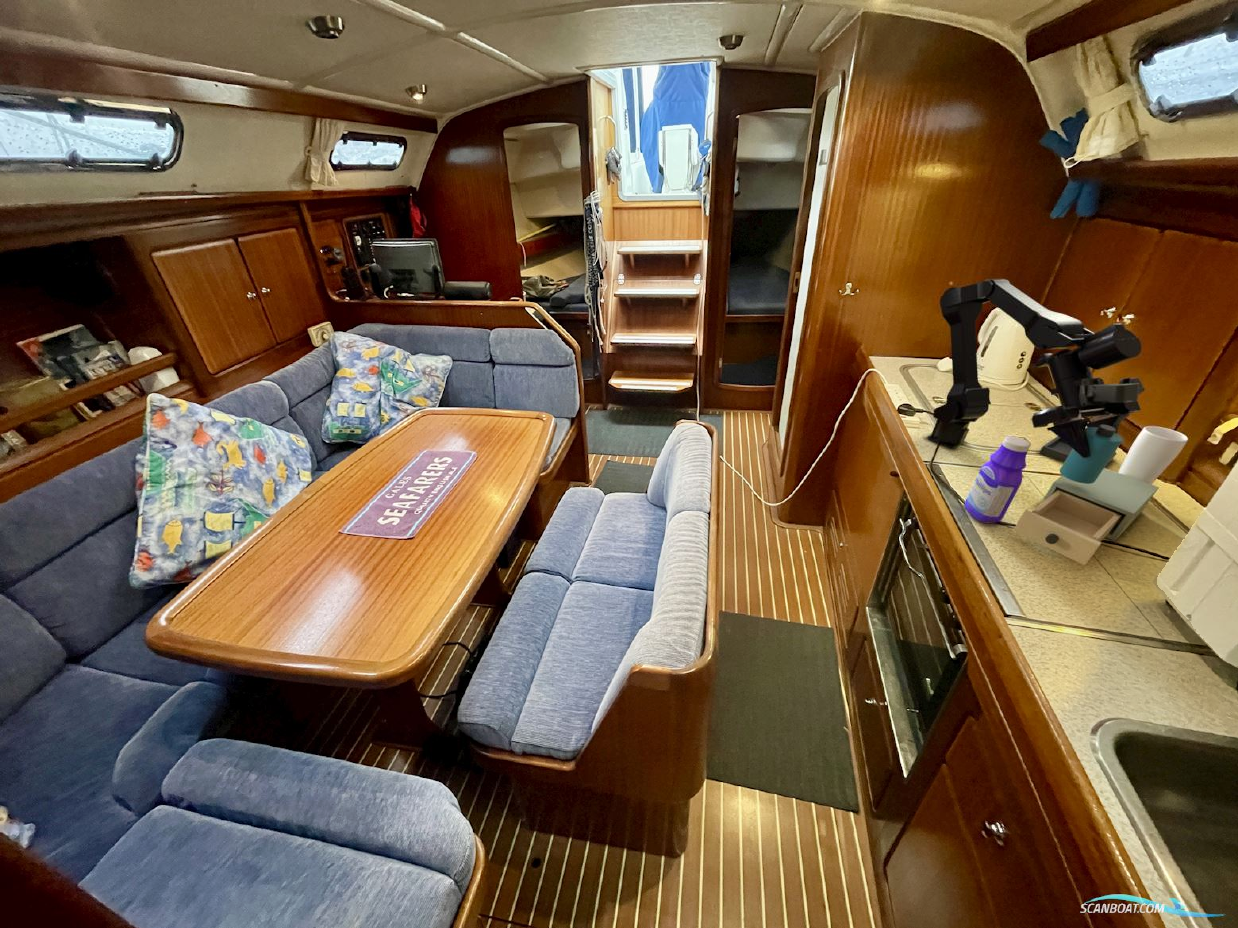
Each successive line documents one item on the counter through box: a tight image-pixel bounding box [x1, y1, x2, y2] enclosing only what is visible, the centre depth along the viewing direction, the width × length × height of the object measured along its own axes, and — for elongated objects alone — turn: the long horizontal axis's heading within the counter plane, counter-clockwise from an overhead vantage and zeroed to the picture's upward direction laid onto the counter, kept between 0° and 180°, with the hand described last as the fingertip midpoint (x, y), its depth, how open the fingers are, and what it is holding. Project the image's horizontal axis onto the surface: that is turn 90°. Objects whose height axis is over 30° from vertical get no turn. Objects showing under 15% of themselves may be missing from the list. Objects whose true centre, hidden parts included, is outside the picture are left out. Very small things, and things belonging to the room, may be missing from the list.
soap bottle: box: [1059, 425, 1124, 484], centre depth 93 cm, size 6×6×11 cm
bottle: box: [964, 435, 1032, 524], centre depth 95 cm, size 7×6×17 cm
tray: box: [1038, 435, 1118, 466], centre depth 119 cm, size 11×11×2 cm
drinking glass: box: [1117, 425, 1189, 485], centre depth 103 cm, size 7×7×15 cm
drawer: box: [1012, 490, 1121, 566], centre depth 92 cm, size 16×11×5 cm
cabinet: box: [1041, 467, 1160, 541], centre depth 99 cm, size 16×13×7 cm
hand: (1099, 455), depth 92 cm, fingers closed on soap bottle, 5 cm apart
